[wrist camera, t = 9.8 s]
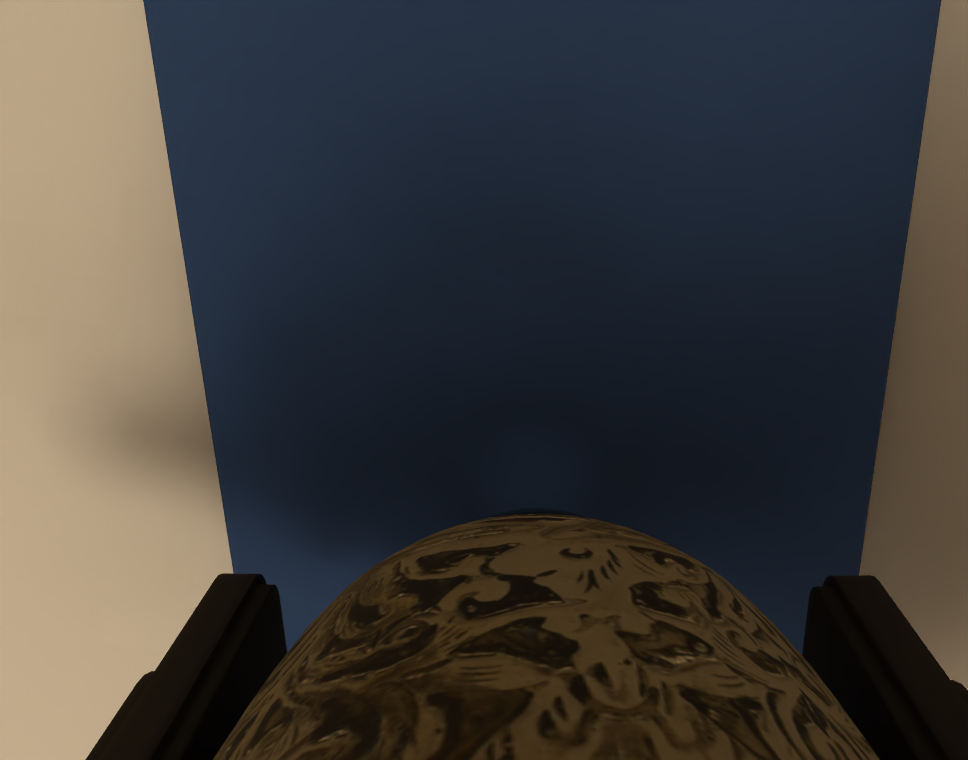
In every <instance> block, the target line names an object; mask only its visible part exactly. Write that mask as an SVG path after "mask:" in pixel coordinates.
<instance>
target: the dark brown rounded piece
mask: <svg viewBox="0 0 968 760" xmlns="http://www.w3.org/2000/svg"><path fill="white" fill-rule="evenodd" d="M213 760H880V759H879V758H878V756H877V755H876V753H875V752H874V750H873V749H872V748H871V746H870V745H869V743H868V742H867V741H866V739H865V738H864V736H863V735H862V734H861V732H860V731H859V729H858V728H857V727H856V725H855V724H854V723H853V721H852V720H851V718H850V717H849V716H848V714H847V713H846V711H845V710H844V709H843V707H842V706H841V704H840V703H839V702H838V701H837V699H836V698H835V697H834V695H833V694H832V693H831V691H830V690H829V689H828V687H827V686H826V685H825V684H824V682H823V681H822V680H821V678H820V677H819V676H818V674H817V673H816V672H815V670H814V669H813V668H812V667H811V666H810V664H809V663H808V662H807V661H806V660H805V659H804V658H803V656H802V655H801V654H800V653H799V652H798V651H797V649H796V648H795V647H794V646H793V645H792V644H791V642H790V641H789V640H788V639H787V638H786V637H785V636H784V635H783V633H782V632H781V631H780V630H779V629H778V628H777V627H776V626H775V625H774V624H773V622H772V621H771V620H770V619H769V618H768V617H767V616H766V615H765V614H764V613H763V612H762V611H761V610H759V609H758V608H757V607H756V606H755V605H754V604H753V603H752V602H751V601H750V600H749V599H748V598H746V597H745V596H744V595H743V594H742V593H741V592H740V591H738V590H737V589H736V588H735V587H734V586H733V585H731V584H730V583H729V582H728V581H727V580H726V579H725V578H723V577H722V576H720V575H719V574H718V573H716V572H715V571H713V570H712V569H710V568H709V567H707V566H706V565H704V564H703V563H701V562H700V561H698V560H696V559H695V558H693V557H691V556H689V555H687V554H685V553H683V552H681V551H680V550H678V549H676V548H674V547H672V546H670V545H668V544H666V543H664V542H662V541H660V540H659V539H656V538H654V537H651V536H649V535H646V534H644V533H641V532H639V531H636V530H634V529H631V528H627V527H624V526H620V525H617V524H613V523H610V522H606V521H602V520H596V519H590V518H586V517H584V516H581V515H578V514H575V513H571V512H568V511H563V510H558V509H550V508H524V509H516V510H511V511H507V512H503V513H500V514H497V515H494V516H491V517H489V518H486V519H482V520H477V521H473V522H468V523H464V524H460V525H457V526H454V527H451V528H448V529H445V530H442V531H440V532H437V533H434V534H432V535H430V536H428V537H425V538H423V539H421V540H419V541H417V542H415V543H413V544H410V545H409V546H407V547H405V548H403V549H401V550H400V551H398V552H396V553H394V554H393V555H391V556H390V557H388V558H386V559H385V560H383V561H381V562H380V563H378V564H376V565H375V566H373V567H372V568H370V569H369V570H368V571H367V572H365V573H364V574H363V575H361V576H360V577H359V578H358V579H356V580H355V581H354V582H352V583H351V584H350V585H349V586H348V587H347V588H346V589H345V590H344V591H343V592H342V593H341V594H340V595H339V596H338V597H337V598H336V599H335V600H334V601H333V602H332V603H331V604H330V605H329V606H328V607H327V608H326V609H325V610H324V611H323V612H322V613H321V614H320V615H319V616H318V617H317V618H316V619H315V620H314V621H313V622H312V623H311V624H310V625H309V626H308V628H307V629H306V630H305V631H304V633H303V634H302V635H301V636H300V638H299V639H298V640H297V641H296V643H295V644H294V645H293V646H292V648H291V649H290V650H289V651H288V653H287V654H286V655H285V657H284V658H283V659H282V660H281V662H280V663H279V664H278V666H277V667H276V668H275V670H274V671H273V672H272V674H271V675H270V676H269V678H268V679H267V681H266V682H265V683H264V685H263V686H262V688H261V689H260V690H259V692H258V693H257V695H256V696H255V698H254V699H253V700H252V702H251V703H250V705H249V706H248V707H247V709H246V710H245V712H244V713H243V715H242V716H241V718H240V719H239V721H238V722H237V724H236V725H235V727H234V728H233V730H232V731H231V733H230V734H229V736H228V737H227V739H226V740H225V742H224V743H223V745H222V747H221V748H220V750H219V751H218V753H217V754H216V756H215V757H214V759H213Z"/></svg>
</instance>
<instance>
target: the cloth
mask: <svg viewBox="0 0 968 760" xmlns="http://www.w3.org/2000/svg"><path fill="white" fill-rule="evenodd" d="M143 1H144V7H145V14H146V20H147V26H148V33H149V39H150V45H151V52H152V58H153V65H154V71H155V77H156V84H157V90H158V96H159V103H160V109H161V115H162V122H163V128H164V134H165V141H166V147H167V153H168V160H169V166H170V172H171V179H172V185H173V191H174V198H175V204H176V210H177V217H178V223H179V230H180V236H181V242H182V249H183V255H184V261H185V268H186V274H187V280H188V287H189V293H190V299H191V306H192V312H193V318H194V325H195V331H196V337H197V344H198V350H199V356H200V363H201V369H202V375H203V382H204V388H205V395H206V401H207V407H208V414H209V420H210V426H211V433H212V439H213V445H214V452H215V458H216V464H217V471H218V477H219V483H220V490H221V496H222V502H223V509H224V515H225V521H226V528H227V534H228V540H229V547H230V553H231V560H232V566H233V572H234V574H261V575H263V576H264V578H265V580H266V584H275V585H276V586H277V588H278V591H279V595H280V603H281V610H282V617H283V624H284V632H285V639H286V646H287V653H288V651H289V650H290V649H291V648H292V646H293V645H294V644H295V643H296V641H297V640H298V639H299V638H300V636H301V635H302V634H303V633H304V631H305V630H306V629H307V628H308V626H309V625H310V624H311V623H312V622H313V621H314V620H315V619H316V618H317V617H318V616H319V615H320V614H321V613H322V612H323V611H324V610H325V609H326V608H327V607H328V606H329V605H330V604H331V603H332V602H333V601H334V600H335V599H336V598H337V597H338V596H339V595H340V594H341V593H342V592H343V591H344V590H345V589H346V588H347V587H348V586H349V585H350V584H351V583H352V582H354V581H355V580H356V579H358V578H359V577H360V576H361V575H363V574H364V573H365V572H367V571H368V570H369V569H370V568H372V567H373V566H375V565H376V564H378V563H380V562H381V561H383V560H385V559H386V558H388V557H390V556H391V555H393V554H394V553H396V552H398V551H400V550H401V549H403V548H405V547H407V546H409V545H410V544H413V543H415V542H417V541H419V540H421V539H423V538H425V537H428V536H430V535H432V534H434V533H437V532H440V531H442V530H445V529H448V528H451V527H454V526H457V525H460V524H464V523H468V522H473V521H477V520H482V519H486V518H489V517H491V516H494V515H497V514H500V513H503V512H507V511H511V510H516V509H524V508H550V509H558V510H563V511H568V512H571V513H575V514H578V515H581V516H584V517H586V518H590V519H596V520H602V521H606V522H610V523H613V524H617V525H620V526H624V527H627V528H631V529H634V530H636V531H639V532H641V533H644V534H646V535H649V536H651V537H654V538H656V539H659V540H660V541H662V542H664V543H666V544H668V545H670V546H672V547H674V548H676V549H678V550H680V551H681V552H683V553H685V554H687V555H689V556H691V557H693V558H695V559H696V560H698V561H700V562H701V563H703V564H704V565H706V566H707V567H709V568H710V569H712V570H713V571H715V572H716V573H718V574H719V575H720V576H722V577H723V578H725V579H726V580H727V581H728V582H729V583H730V584H731V585H733V586H734V587H735V588H736V589H737V590H738V591H740V592H741V593H742V594H743V595H744V596H745V597H746V598H748V599H749V600H750V601H751V602H752V603H753V604H754V605H755V606H756V607H757V608H758V609H759V610H761V611H762V612H763V613H764V614H765V615H766V616H767V617H768V618H769V619H770V620H771V621H772V622H773V624H774V625H775V626H776V627H777V628H778V629H779V630H780V631H781V632H782V633H783V635H784V636H785V637H786V638H787V639H788V640H789V641H790V642H791V644H792V645H793V646H794V647H795V648H796V649H797V651H798V652H799V653H800V654H801V655H802V651H803V643H804V634H805V626H806V618H807V610H808V601H809V595H810V591H811V589H812V588H813V587H823V583H824V581H825V579H826V577H828V576H829V575H845V576H859V570H860V563H861V556H862V549H863V542H864V535H865V528H866V521H867V514H868V507H869V500H870V493H871V486H872V479H873V472H874V465H875V458H876V451H877V444H878V437H879V431H880V424H881V417H882V410H883V403H884V396H885V389H886V382H887V375H888V368H889V361H890V354H891V347H892V340H893V333H894V326H895V319H896V312H897V305H898V298H899V291H900V284H901V277H902V270H903V263H904V256H905V249H906V242H907V235H908V228H909V221H910V214H911V207H912V200H913V193H914V186H915V179H916V172H917V165H918V158H919V151H920V144H921V137H922V130H923V123H924V116H925V109H926V102H927V96H928V89H929V82H930V75H931V68H932V61H933V54H934V47H935V40H936V33H937V26H938V19H939V12H940V5H941V0H143Z"/></svg>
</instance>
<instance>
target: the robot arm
mask: <svg viewBox="0 0 968 760" xmlns="http://www.w3.org/2000/svg"><path fill="white" fill-rule="evenodd" d="M286 654H287V646H286V639H285V632H284V624H283V617H282V610H281V603H280V595H279V591H278V588H277V586H276V585H275V584H266V580H265V578H264V576H263V575H261V574H220V575H218V576H217V578H216V579H215V580H214V582H213V583H212V585H211V586H210V588H209V589H208V591H207V592H206V594H205V595H204V597H203V598H202V600H201V602H200V603H199V605H198V606H197V608H196V609H195V611H194V612H193V614H192V615H191V617H190V618H189V620H188V621H187V623H186V624H185V626H184V627H183V629H182V631H181V632H180V634H179V635H178V637H177V638H176V640H175V641H174V643H173V644H172V646H171V647H170V649H169V650H168V652H167V653H166V655H165V656H164V658H163V660H162V661H161V663H160V664H159V666H158V667H157V669H156V670H155V671H151V672H149V673H147V674H145V675H144V676H143V677H142V678H141V679H140V680H139V682H138V683H137V684H136V685H135V687H134V688H133V690H132V691H131V693H130V694H129V696H128V697H127V699H126V700H125V702H124V703H123V705H122V706H121V708H120V709H119V711H118V712H117V714H116V715H115V717H114V718H113V720H112V721H111V723H110V724H109V726H108V727H107V729H106V730H105V732H104V733H103V735H102V736H101V738H100V739H99V741H98V742H97V744H96V745H95V747H94V748H93V749H92V751H91V752H90V754H89V755H88V757H87V758H86V760H213V759H214V757H215V756H216V754H217V753H218V751H219V750H220V748H221V747H222V745H223V743H224V742H225V740H226V739H227V737H228V736H229V734H230V733H231V731H232V730H233V728H234V727H235V725H236V724H237V722H238V721H239V719H240V718H241V716H242V715H243V713H244V712H245V710H246V709H247V707H248V706H249V705H250V703H251V702H252V700H253V699H254V698H255V696H256V695H257V693H258V692H259V690H260V689H261V688H262V686H263V685H264V683H265V682H266V681H267V679H268V678H269V676H270V675H271V674H272V672H273V671H274V670H275V668H276V667H277V666H278V664H279V663H280V662H281V660H282V659H283V658H284V657H285V655H286ZM802 656H803V658H804V659H805V660H806V661H807V662H808V663H809V664H810V666H811V667H812V668H813V669H814V670H815V672H816V673H817V674H818V676H819V677H820V678H821V680H822V681H823V682H824V684H825V685H826V686H827V687H828V689H829V690H830V691H831V693H832V694H833V695H834V697H835V698H836V699H837V701H838V702H839V703H840V704H841V706H842V707H843V709H844V710H845V711H846V713H847V714H848V716H849V717H850V718H851V720H852V721H853V723H854V724H855V725H856V727H857V728H858V729H859V731H860V732H861V734H862V735H863V736H864V738H865V739H866V741H867V742H868V743H869V745H870V746H871V748H872V749H873V750H874V752H875V753H876V755H877V756H878V758H879V759H880V760H968V690H967V689H966V688H965V687H964V686H963V685H962V684H960V683H958V682H956V681H954V680H950V679H949V677H948V676H947V675H946V673H945V672H944V670H943V669H942V668H941V666H940V665H939V663H938V662H937V661H936V659H935V658H934V657H933V655H932V654H931V652H930V651H929V650H928V648H927V647H926V645H925V644H924V643H923V641H922V640H921V639H920V637H919V636H918V634H917V633H916V632H915V630H914V629H913V627H912V626H911V625H910V623H909V622H908V620H907V619H906V618H905V616H904V615H903V614H902V612H901V611H900V609H899V608H898V607H897V605H896V604H895V602H894V601H893V600H892V598H891V597H890V596H889V594H888V593H887V591H886V590H885V589H884V587H883V586H882V584H881V583H880V582H879V581H878V580H877V579H876V577H874V576H845V575H829V576H828V577H826V579H825V581H824V583H823V587H813V588H812V589H811V591H810V595H809V601H808V610H807V618H806V626H805V634H804V643H803V651H802Z"/></svg>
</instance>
